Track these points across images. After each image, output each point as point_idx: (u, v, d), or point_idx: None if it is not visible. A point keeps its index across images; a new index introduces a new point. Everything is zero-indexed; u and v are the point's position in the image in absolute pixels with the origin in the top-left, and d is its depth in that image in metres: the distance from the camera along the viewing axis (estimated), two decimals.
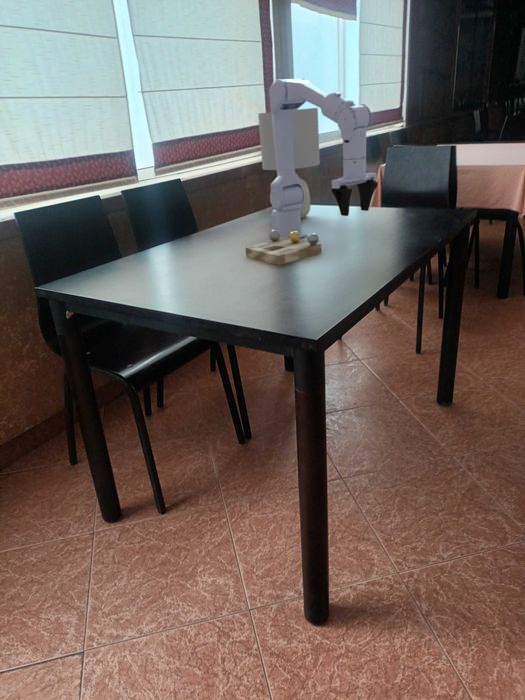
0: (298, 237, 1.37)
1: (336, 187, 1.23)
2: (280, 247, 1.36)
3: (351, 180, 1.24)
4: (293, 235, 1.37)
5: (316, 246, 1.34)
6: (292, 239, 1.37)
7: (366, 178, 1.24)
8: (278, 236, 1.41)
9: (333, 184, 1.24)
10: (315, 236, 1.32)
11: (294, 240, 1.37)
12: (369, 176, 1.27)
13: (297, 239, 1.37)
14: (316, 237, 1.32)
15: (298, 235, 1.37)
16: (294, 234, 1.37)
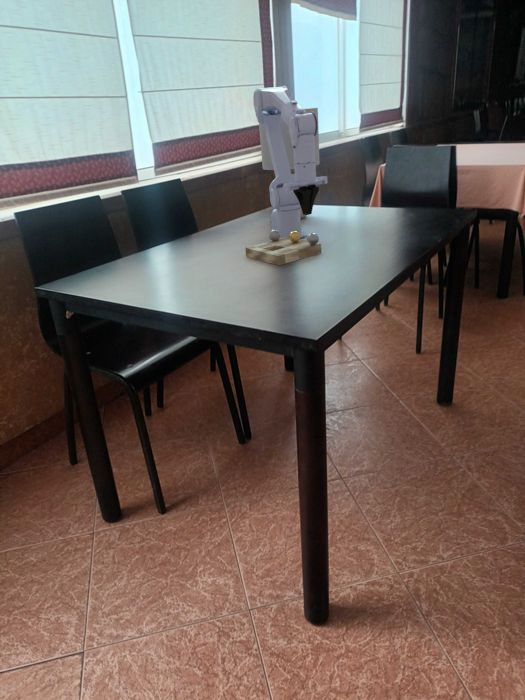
0: (298, 237, 1.37)
1: (287, 190, 1.31)
2: (280, 247, 1.36)
3: (301, 183, 1.31)
4: (293, 235, 1.37)
5: (316, 246, 1.34)
6: (292, 239, 1.37)
7: (315, 181, 1.32)
8: (278, 236, 1.41)
9: (284, 187, 1.31)
10: (315, 236, 1.32)
11: (294, 240, 1.37)
12: (319, 179, 1.35)
13: (297, 239, 1.37)
14: (316, 237, 1.32)
15: (298, 235, 1.37)
16: (294, 234, 1.37)
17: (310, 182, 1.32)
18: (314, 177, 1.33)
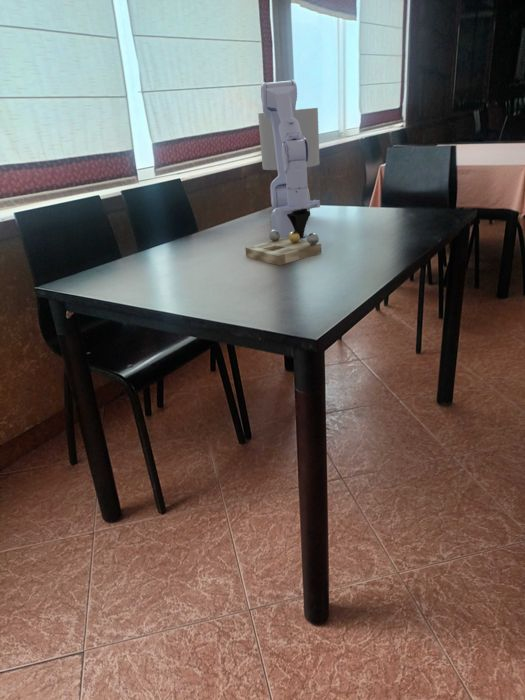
0: (298, 237, 1.37)
1: (279, 215, 1.32)
2: (280, 247, 1.36)
3: (293, 208, 1.32)
4: (293, 236, 1.36)
5: (316, 246, 1.34)
6: (292, 240, 1.37)
7: (307, 206, 1.32)
8: (278, 236, 1.41)
9: (276, 212, 1.32)
10: (315, 236, 1.32)
11: (294, 241, 1.37)
12: (312, 204, 1.36)
13: (297, 239, 1.37)
14: (316, 237, 1.32)
15: (297, 235, 1.37)
16: (293, 235, 1.36)
17: (302, 207, 1.33)
18: (306, 202, 1.34)
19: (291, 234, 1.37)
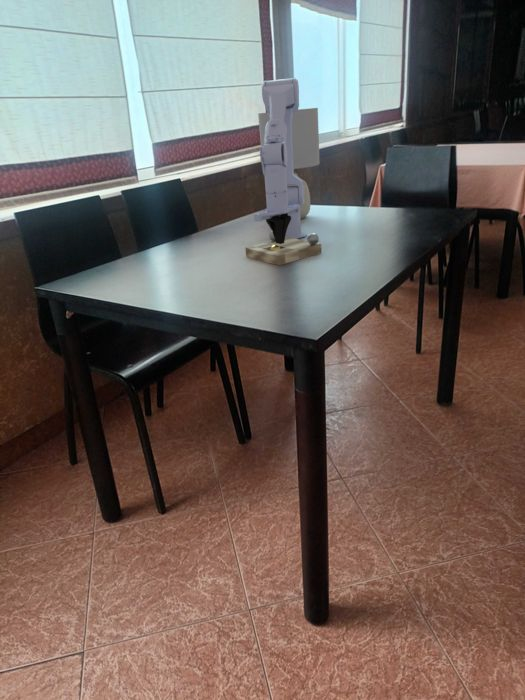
0: None
1: (258, 220, 1.28)
2: (280, 247, 1.36)
3: (272, 213, 1.29)
4: None
5: (316, 246, 1.34)
6: (276, 245, 1.35)
7: (287, 211, 1.29)
8: None
9: (255, 217, 1.29)
10: (315, 236, 1.32)
11: (276, 246, 1.34)
12: (292, 208, 1.32)
13: (277, 249, 1.34)
14: (316, 237, 1.32)
15: None
16: (280, 248, 1.35)
17: (282, 212, 1.29)
18: (286, 206, 1.30)
19: None
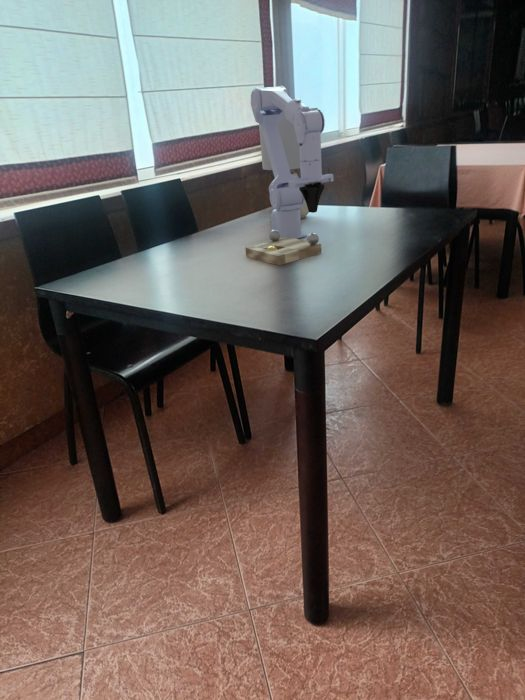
0: None
1: (292, 187, 1.31)
2: (280, 247, 1.36)
3: (307, 181, 1.31)
4: (274, 247, 1.34)
5: (316, 246, 1.34)
6: (270, 248, 1.34)
7: (321, 179, 1.31)
8: (278, 236, 1.41)
9: (289, 185, 1.31)
10: (315, 236, 1.32)
11: (270, 250, 1.34)
12: (325, 177, 1.35)
13: None
14: (316, 237, 1.32)
15: None
16: (275, 247, 1.34)
17: (316, 180, 1.32)
18: (320, 175, 1.32)
19: (274, 246, 1.35)
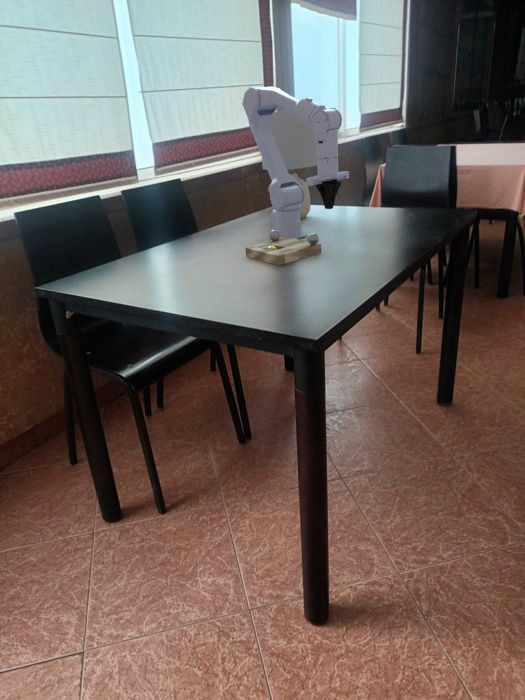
0: None
1: (310, 184, 1.33)
2: (280, 247, 1.36)
3: (324, 178, 1.34)
4: (274, 247, 1.34)
5: (316, 246, 1.34)
6: (270, 248, 1.34)
7: (338, 176, 1.34)
8: (278, 236, 1.41)
9: (307, 182, 1.34)
10: (315, 236, 1.32)
11: (270, 250, 1.34)
12: (341, 174, 1.37)
13: None
14: (316, 237, 1.32)
15: None
16: (275, 247, 1.34)
17: (333, 177, 1.34)
18: (337, 172, 1.35)
19: (274, 246, 1.35)
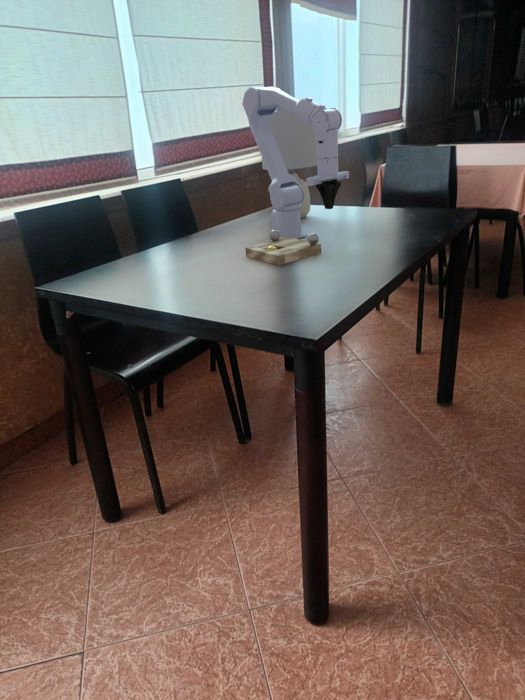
0: None
1: (310, 184, 1.33)
2: (280, 247, 1.36)
3: (324, 178, 1.34)
4: (274, 247, 1.34)
5: (316, 246, 1.34)
6: (270, 248, 1.34)
7: (338, 176, 1.34)
8: (278, 236, 1.41)
9: (307, 182, 1.34)
10: (315, 236, 1.32)
11: (270, 250, 1.34)
12: (341, 174, 1.37)
13: None
14: (316, 237, 1.32)
15: None
16: (275, 247, 1.34)
17: (333, 177, 1.34)
18: (337, 172, 1.35)
19: (274, 246, 1.35)
